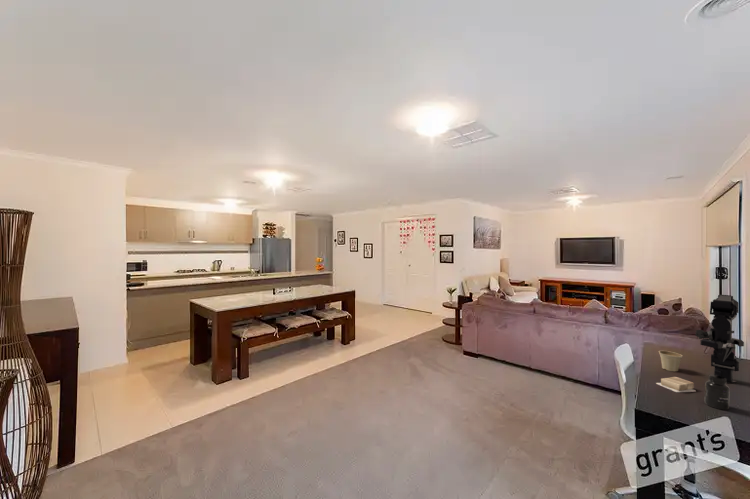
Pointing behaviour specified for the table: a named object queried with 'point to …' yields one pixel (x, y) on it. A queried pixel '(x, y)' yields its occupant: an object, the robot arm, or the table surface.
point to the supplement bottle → (717, 392)
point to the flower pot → (670, 360)
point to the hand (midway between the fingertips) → (721, 361)
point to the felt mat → (677, 390)
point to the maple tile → (677, 383)
